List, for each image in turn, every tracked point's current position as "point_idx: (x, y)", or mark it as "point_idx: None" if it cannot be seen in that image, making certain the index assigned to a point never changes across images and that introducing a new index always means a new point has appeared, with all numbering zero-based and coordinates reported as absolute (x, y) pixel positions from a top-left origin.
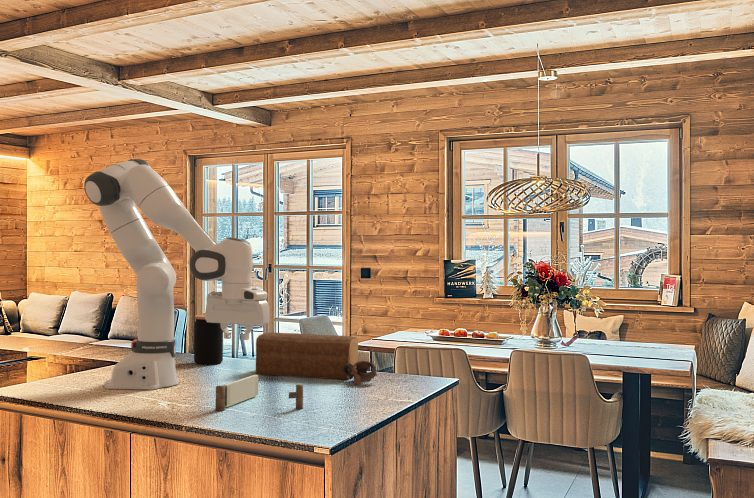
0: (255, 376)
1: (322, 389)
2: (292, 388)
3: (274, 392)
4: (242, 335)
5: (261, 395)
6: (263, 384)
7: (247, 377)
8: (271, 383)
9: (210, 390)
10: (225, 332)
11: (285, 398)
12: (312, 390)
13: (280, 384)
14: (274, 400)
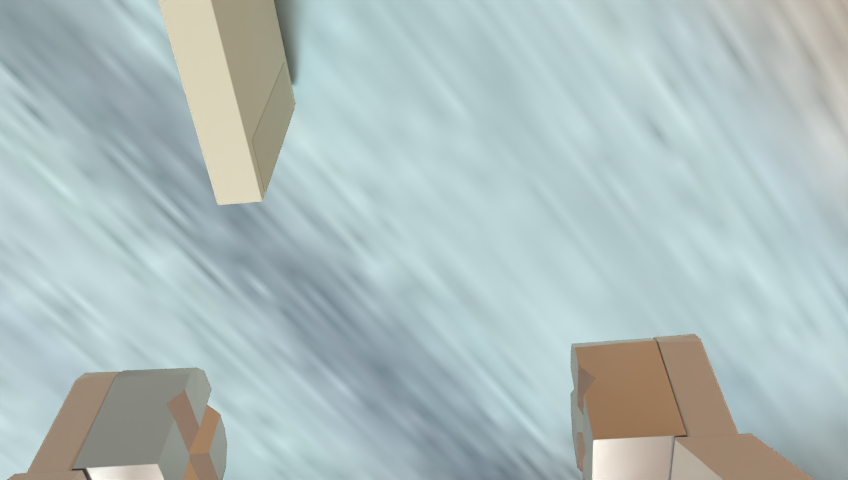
0: (203, 146)
1: None
2: (248, 419)
3: (260, 276)
4: (143, 436)
5: None
6: (510, 431)
7: (201, 25)
8: (478, 471)
9: (800, 97)
10: (688, 445)
11: (25, 151)
12: None
13: (404, 472)
14: (31, 45)
